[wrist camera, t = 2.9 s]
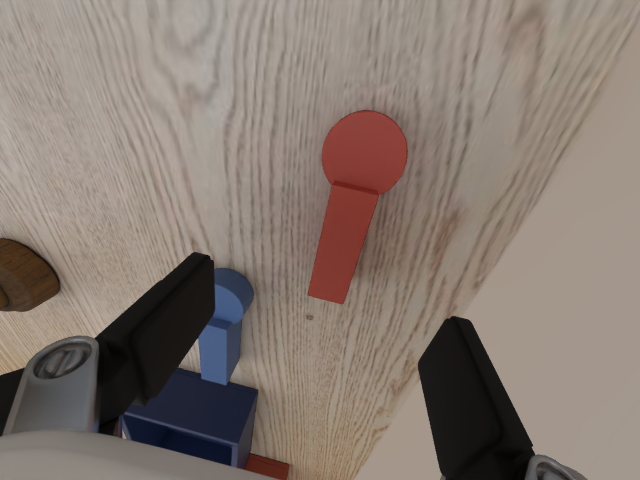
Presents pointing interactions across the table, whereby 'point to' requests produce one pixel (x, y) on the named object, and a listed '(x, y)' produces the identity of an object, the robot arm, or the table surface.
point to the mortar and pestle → (24, 278)
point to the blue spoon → (224, 326)
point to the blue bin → (197, 419)
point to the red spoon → (354, 194)
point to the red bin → (267, 467)
